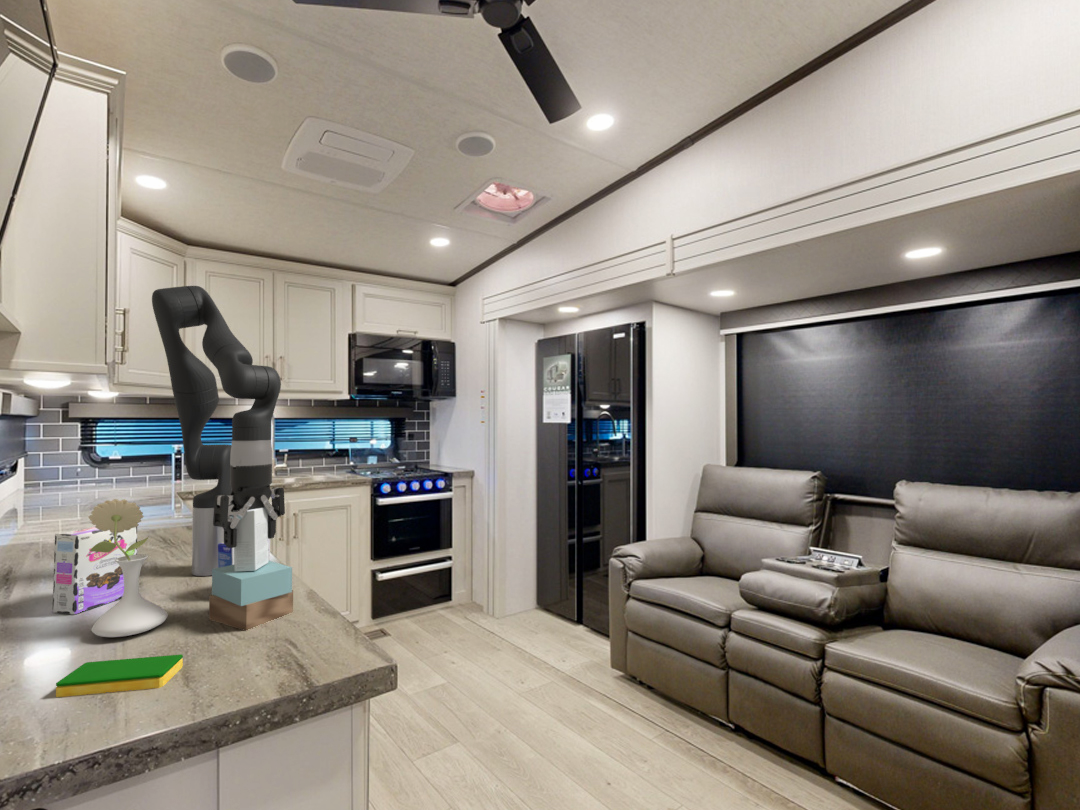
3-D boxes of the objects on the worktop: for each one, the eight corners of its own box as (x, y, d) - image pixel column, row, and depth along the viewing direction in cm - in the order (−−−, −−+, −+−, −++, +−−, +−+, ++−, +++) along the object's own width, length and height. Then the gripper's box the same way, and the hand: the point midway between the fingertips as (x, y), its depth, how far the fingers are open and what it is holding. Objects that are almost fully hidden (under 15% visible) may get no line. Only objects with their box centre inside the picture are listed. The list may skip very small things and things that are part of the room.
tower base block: (256, 605, 115) (256, 581, 115) (293, 614, 109) (293, 590, 109) (209, 620, 106) (209, 595, 106) (246, 632, 100) (246, 605, 101)
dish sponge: (161, 690, 79) (162, 673, 79) (54, 700, 76) (54, 683, 77) (183, 668, 86) (183, 653, 86) (85, 677, 83) (86, 661, 84)
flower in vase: (179, 617, 107) (180, 493, 108) (147, 641, 96) (149, 502, 96) (106, 622, 105) (108, 495, 105) (65, 646, 94) (67, 504, 94)
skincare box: (247, 564, 111) (247, 506, 111) (268, 563, 111) (268, 505, 112) (232, 572, 105) (233, 510, 105) (255, 571, 105) (255, 510, 106)
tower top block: (261, 581, 115) (262, 558, 115) (291, 591, 108) (292, 567, 108) (211, 594, 107) (212, 569, 107) (241, 606, 100) (241, 579, 100)
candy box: (74, 615, 108) (75, 534, 109) (51, 613, 110) (52, 533, 110) (137, 593, 122) (138, 521, 122) (116, 592, 123) (118, 520, 124)
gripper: (269, 459, 116) (268, 534, 116) (205, 464, 103) (204, 548, 103) (293, 460, 113) (293, 537, 113) (231, 466, 100) (230, 552, 100)
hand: (250, 542), depth 108 cm, fingers open, 8 cm apart
